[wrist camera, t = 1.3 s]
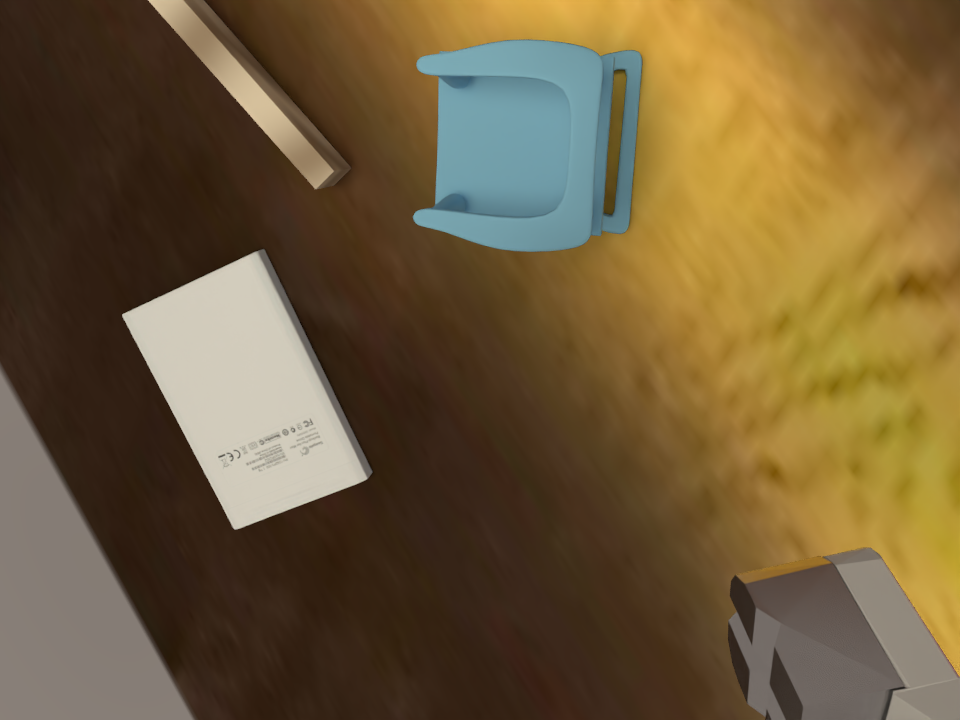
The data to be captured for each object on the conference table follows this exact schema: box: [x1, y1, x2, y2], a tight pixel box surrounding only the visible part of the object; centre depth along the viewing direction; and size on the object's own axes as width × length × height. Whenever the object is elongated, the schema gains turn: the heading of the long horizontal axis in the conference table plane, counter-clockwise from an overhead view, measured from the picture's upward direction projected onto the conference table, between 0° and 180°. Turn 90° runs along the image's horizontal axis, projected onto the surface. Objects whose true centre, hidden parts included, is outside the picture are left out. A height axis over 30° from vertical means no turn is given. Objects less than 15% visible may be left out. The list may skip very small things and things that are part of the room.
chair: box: [413, 40, 642, 252], centre depth 35 cm, size 8×8×12 cm
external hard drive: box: [122, 249, 372, 529], centre depth 46 cm, size 2×8×12 cm
